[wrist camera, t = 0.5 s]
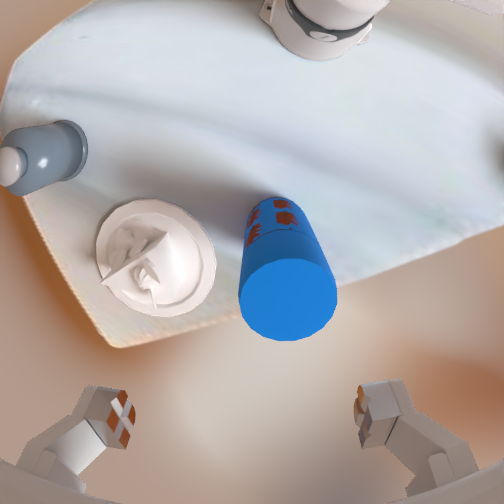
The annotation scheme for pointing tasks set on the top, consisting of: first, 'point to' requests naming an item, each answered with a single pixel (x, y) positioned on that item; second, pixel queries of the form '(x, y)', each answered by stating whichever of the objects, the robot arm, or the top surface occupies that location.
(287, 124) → the top surface
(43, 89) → the top surface
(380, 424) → the robot arm
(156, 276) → the dish
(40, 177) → the dispenser
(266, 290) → the thermos
